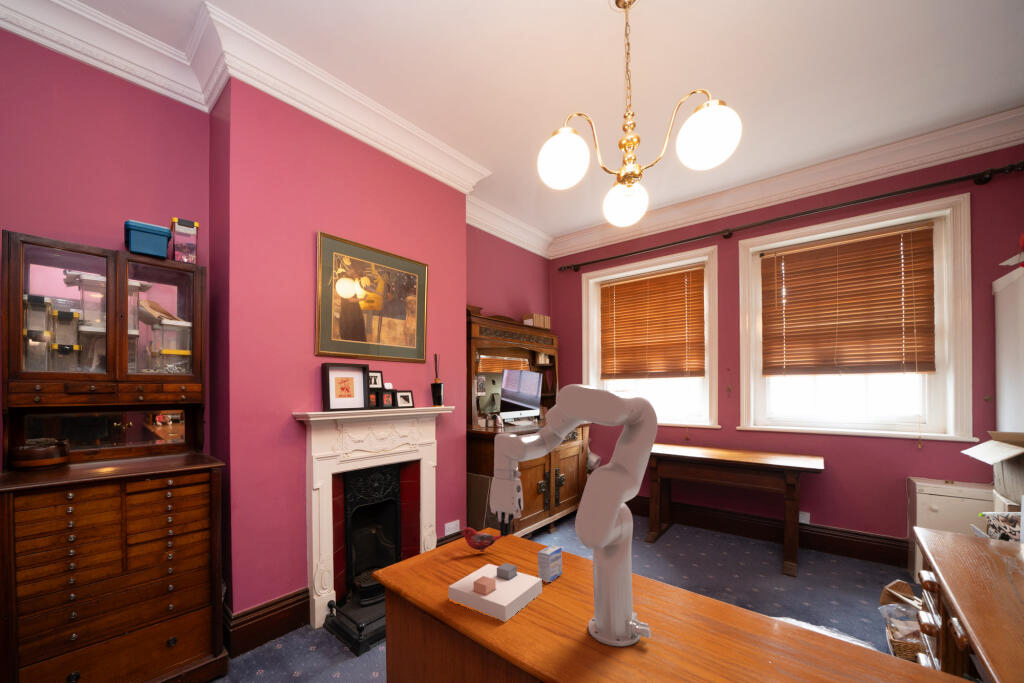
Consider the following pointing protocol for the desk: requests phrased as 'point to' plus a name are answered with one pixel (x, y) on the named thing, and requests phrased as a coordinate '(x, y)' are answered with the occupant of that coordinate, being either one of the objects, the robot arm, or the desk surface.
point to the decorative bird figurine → (479, 539)
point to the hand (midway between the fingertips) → (505, 534)
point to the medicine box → (550, 563)
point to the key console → (497, 593)
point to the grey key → (506, 571)
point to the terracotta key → (484, 585)
